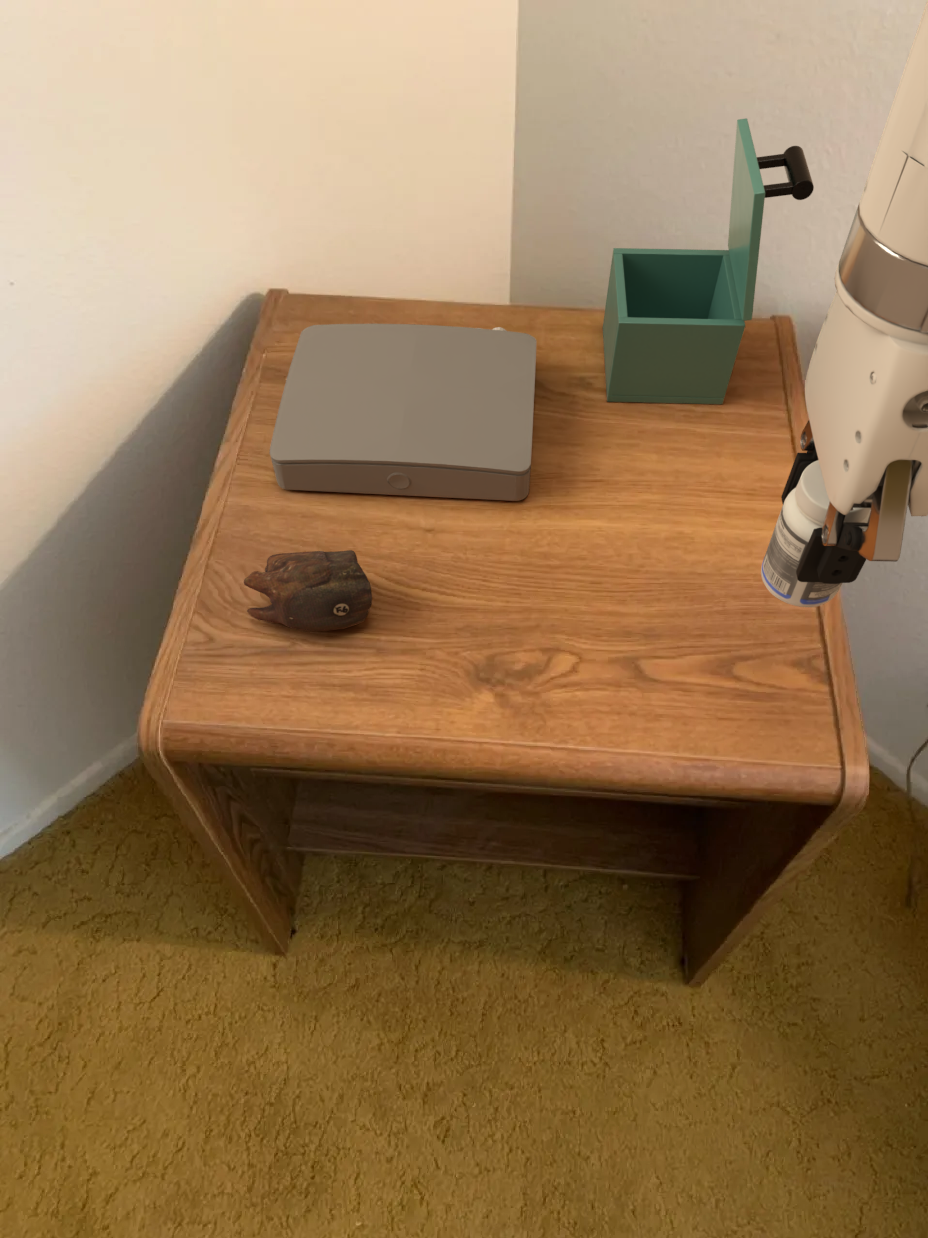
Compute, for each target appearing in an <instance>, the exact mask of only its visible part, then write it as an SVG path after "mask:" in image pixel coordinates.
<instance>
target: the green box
mask: <svg viewBox="0 0 928 1238" xmlns="http://www.w3.org/2000/svg"><path fill="white" fill-rule="evenodd" d="M610 262H611V263H610V270H609V278H608V283H607V284H608V285H607V292H606V299H605V300H606V301H605V307H604V314H603V322H602V339H603V340H602V342H603V358H604V376H605V392H606V393H605V394H606V402H607V403H609V402H611V403H644V404H645V403H647V404H648V403H649V404H650V403H651V404H652V403H653V404H689V405H691V404H693V405H724V401H725V397H726V394H727V390H728V387H729V384H730V380H731V376H732V373H733V369H734V366H735V363H736V359H737V356H738V353H739V349H740V345H741V342H742V339H743V335H744V332H745V328H746V321H742V317H741V312H740V306H739V301H738V296H737V291H736V286H735V280H734V275H733V270H732V265H731V259H730V254H729V249H694V248H693V249H692V248H691V249H690V248H689V249H687V248H686V249H685V248H684V249H683V248H637V247H636V248H633V247H630V248H629V247H627V248H626V247H613V248H612V255H611V261H610Z"/></svg>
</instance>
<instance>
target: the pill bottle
mask: <svg viewBox="0 0 928 1238" xmlns="http://www.w3.org/2000/svg"><path fill="white" fill-rule="evenodd" d="M829 502H830V500H829V498H828V495H827V491H826V488H825V484H824V480H823V476H822V472H821V468H820V464H819V460H817V461H815V462H813V463H811V464H810V465H809V466H807V467H806V468H805V470H804V471H803V473H802V475H801V477H800V480H799V482H798V484H797V486H796V488H794V489H793V490H792V491H791V492H790V493H789V494H788V496H787V497H786V499H785V501H784V504H783V503H782V506H781V510H780V511H779V514H778V518H777V520H776V523H775V526H774V528H773V532H772V535H771V537H770V540H769V542H768V545H767V549H766V551H765V553H764V556H763V560H762V563H761V566H760V567H761V568H760V576H761V580H762V582H763V584H764V586H765V587H766V589H767V590H768V592H769V593H770V594H771V595H772V596H773V597H775V598H776V599H777V600H779V601H781V602H783V603H785V604H787V605H789V606H790V605H791V606H794V607H799V608H816V607H821V606H823V605H825V604H827V603H828V602H831V600H833V599H834V598H835V597H836V596H837V594H838V592H839V591H840V589H841V587H842V585H843V583H840V584H825V583H822V582H800V581H798V579H797V574H796V570H797V568H798V565H799V563H800V561H801V558H802V556H803V554H804V551H805V549H806V547H807V544H808V542H809V540H810V537H811V535H812V533H813V530H814V529H817V528H821V527H823V524H824V520H825V517H826V513H827V509H828V506H829ZM870 510H871V508H853V511H850V512H849V513H848V514H847V515H846V516H845V519H844V522H861V523H867V522H868V519H869V516H870Z"/></svg>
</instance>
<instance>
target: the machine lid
mask: <svg viewBox="0 0 928 1238" xmlns="http://www.w3.org/2000/svg"><path fill="white" fill-rule="evenodd" d="M735 131H736V133H735V145H734V157H733V160H734V161H733V172H732V185H731V199H730V212H729V223H728V224H729V225H728V239H727V250H729V254H730V259H731V265H732V270H733V275H734V280H735V286H736V291H737V296H738V301H739V306H740V312H741V317H742V321H745V322H746V321H752V319H753V312H754V302H755V295H756V286H757V285H756V284H757V274H758V265H759V256H760V247H761V236H762V227H763V219H764V208H765V200H766V199H767V198H768V199H769V198H775V197H784V196H792V198H793V199H795V200H797V201H803V200H806V199H808V198H809V197H810V196H811V195H812V194H813V192H814V189H815V187H814V182H813V179H812V176H811V172H810V169H809V166H808V163H807V158H806V156H805V152H804V150H803V148H802V147H801V146H799V145H791V146H788V147H787V148H786V149H785V150H784V152H783V153H779V154H771V155H764V156H763V155H762V156H757V154H756V149H755V145H754V141H753V137H752V132H751V128H750V124H749V120H748V118H740V119H737V121H736V130H735ZM779 167H784V171H785V174H786V178H787V181H788V182H779V183H771V184H764V182H763V178H762V174H761V170H765V169H772V168H779Z"/></svg>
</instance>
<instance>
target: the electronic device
mask: <svg viewBox="0 0 928 1238" xmlns="http://www.w3.org/2000/svg"><path fill="white" fill-rule="evenodd" d="M537 343H538V342H537V339H536V337H535V336H533V335H531V334H529V333H526V332H518V331H511V330H507V329H505V328H504V327H501V326H498V327H493V328H492V329H489V328H481V327H469V326H468V327H467V326H451V325H438V324H437V325H436V324H414V323H412V324H411V323H330V324H329V323H328V324H312V325H309V326H307V327H305V328H303V330H301V332H300V335H299V337H298V341H297V344H296V347H295V350H294V353H293V356H292V360H291V363H290V366H289V368H288V373H287V375H286V379H285V384H284V387H283V392H282V395H281V399H280V402H279V406H278V410H277V415H276V419H275V424H274V428H273V431H272V436H271V441H270V446H269V455H270V460H271V463H272V468H273V472H274V475H275V480H276V482H277V486H278V487H280V488H281V489H283V490H287V491H288V490H289V491H290V490H291V491H307V492H308V491H310V492H329V493H349V494H369V495H371V494H372V495H390V496H391V495H392V496H412V497H431V498H432V497H433V498H449V499H450V498H453V499H470V500H472V499H473V500H489V501H491V500H492V501H509V502H511V501H512V502H519V501H521V500H524V499H525V498H527V496H528V495H529V494H530V482H531V470H532V469H531V467H532V450H533V449H532V448H533V429H534V428H533V427H534V409H535V407H534V406H535V403H534V402H535V388H536V387H535V385H536V367H537V366H536V365H537V363H536V362H537Z"/></svg>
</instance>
